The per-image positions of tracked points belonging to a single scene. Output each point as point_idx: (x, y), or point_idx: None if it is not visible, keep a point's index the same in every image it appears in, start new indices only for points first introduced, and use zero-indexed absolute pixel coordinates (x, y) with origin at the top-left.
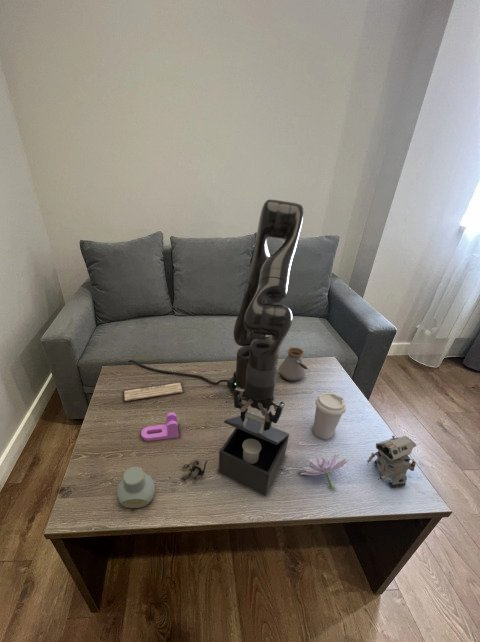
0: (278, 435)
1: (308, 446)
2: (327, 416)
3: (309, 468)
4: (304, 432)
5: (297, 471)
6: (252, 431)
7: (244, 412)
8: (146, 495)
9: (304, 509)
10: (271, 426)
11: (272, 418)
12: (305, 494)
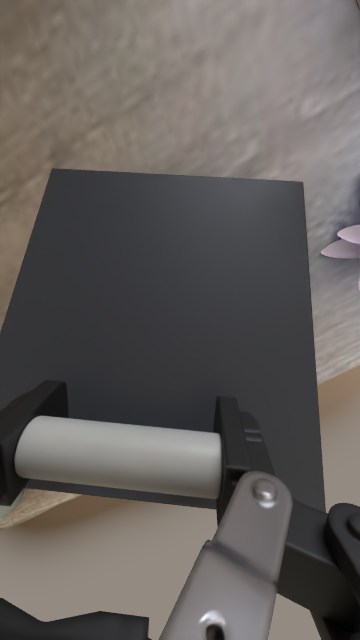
0: (280, 316)
1: (339, 109)
2: None
3: (354, 229)
4: (317, 29)
5: (311, 245)
6: (150, 492)
7: (3, 499)
8: (4, 510)
9: (341, 353)
10: (206, 177)
11: (306, 601)
12: (340, 311)
